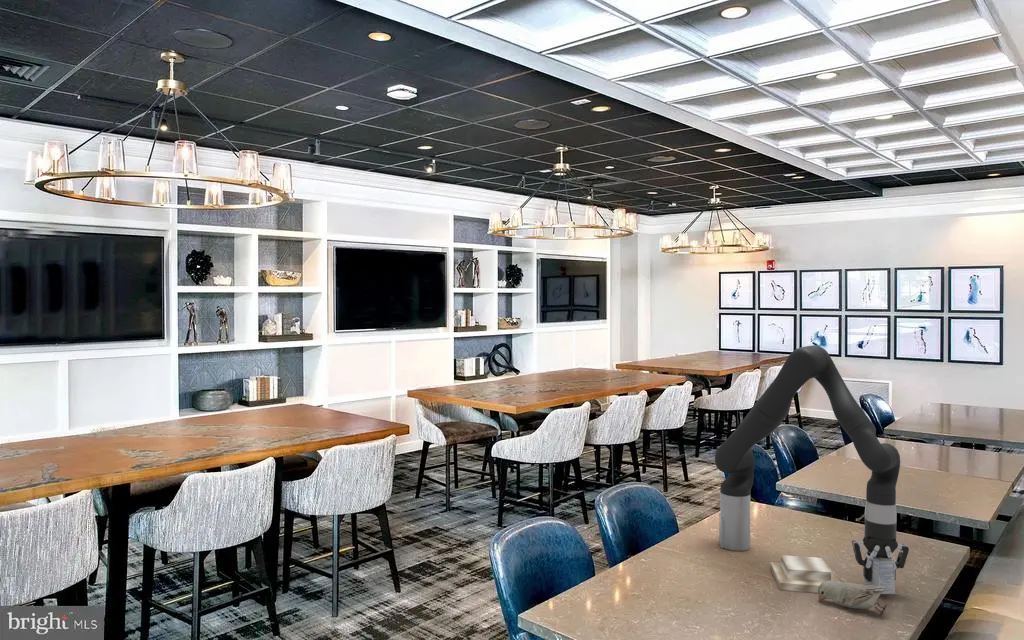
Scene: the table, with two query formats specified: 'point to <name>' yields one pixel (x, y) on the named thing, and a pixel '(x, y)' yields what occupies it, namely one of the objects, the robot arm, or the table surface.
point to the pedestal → (801, 573)
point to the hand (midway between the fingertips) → (879, 581)
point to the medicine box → (883, 574)
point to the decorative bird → (851, 594)
